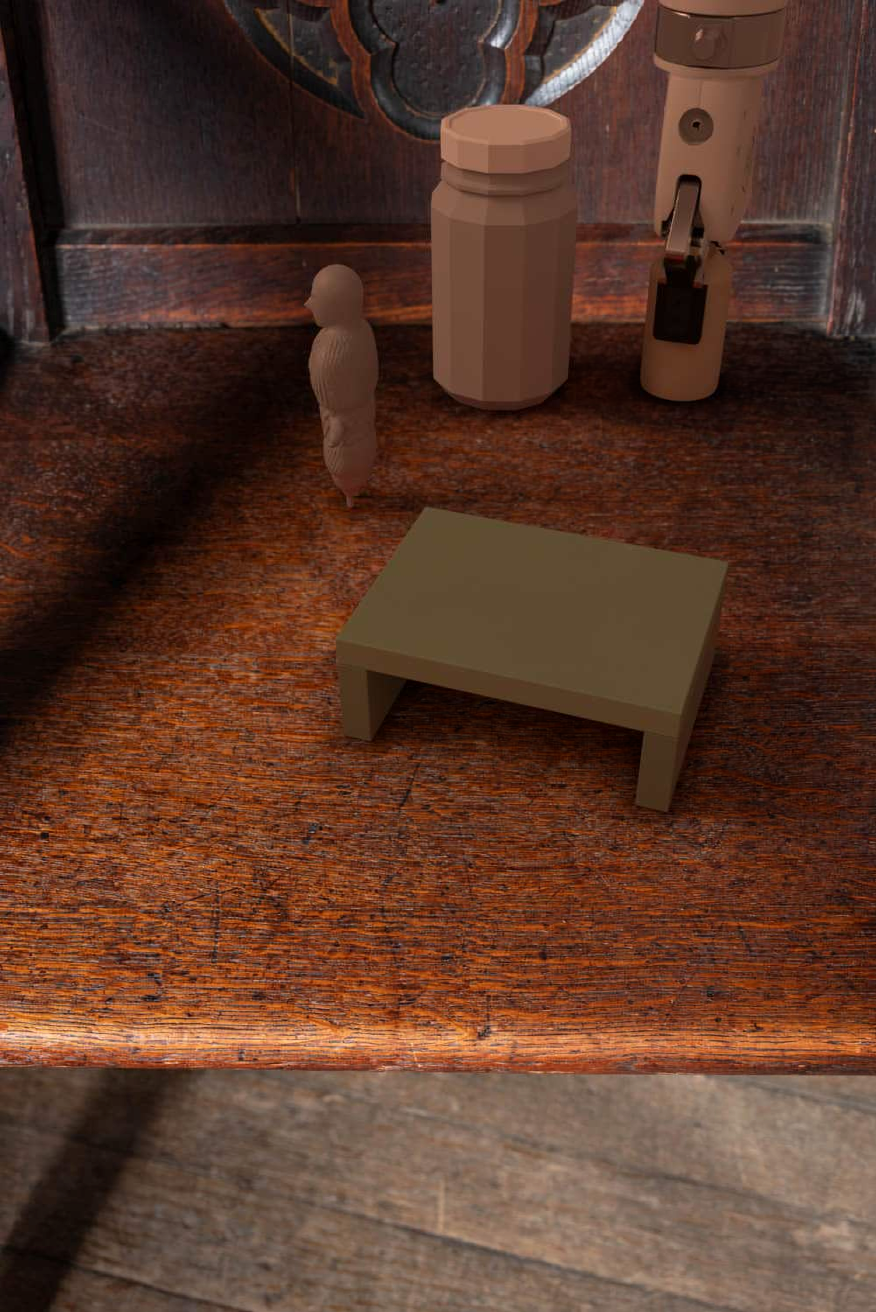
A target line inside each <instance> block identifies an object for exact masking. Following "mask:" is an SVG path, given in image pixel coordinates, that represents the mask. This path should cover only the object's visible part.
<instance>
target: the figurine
mask: <svg viewBox="0 0 876 1312" xmlns="http://www.w3.org/2000/svg"><path fill="white" fill-rule="evenodd" d="M310 295H311V296H309V298H308V299H307V300H306V301H305V302H304V304H303V306H304V307H305V308H306V309H307V310H309V312H311V313H312V315H313V318H314V321H315V324H316V326H318V327H319V328H321V329H320V330H319V332H318V333H317V334H316V336H315V338H314V339H313V342H312V345H311V351H310V356H309V359H308V365H307V367H308V369H309V374H310V376H309V378H310V385H311V387H312V390H313V391H314V395H315V397H316V399H317V400H316V401H317V403H318V404H319V407H318V409H319V413H320V420H321V427H322V428H321V429H322V432H323V437H324V438H323V449H322V450H323V451H322V452H323V459H324V462H325V463H324V464H325V466H326V468H327V471H328V472H329V474H330V475H331V478H332V481H333V483H334V485H335V486H336V487H337V488H339V490H340V491H342V493H343V495H345V498H346V507H347V508H349V509H351V508H354V507H355V502H354V497H359V496H360V495H361V494H360V488H362V487H363V486H364V485H365V484H366V483H367V482H368V480H369V478H370V477H371V474H372V470H373V464H374V461H375V459H376V456H377V451H378V448H377V447H378V443H377V442H378V441H377V439H378V438H377V431H376V428H375V425H376V414H377V406H376V400H377V399H376V398H375V390H376V388H377V384H378V381H379V358H378V357H379V356H378V349H377V346H376V338H375V335H374V331H373V328H372V326H371V325H370V323H369V322H368V320H367V319H365V318H363V316H362V315H363V308H364V298H365V292H364V285H363V281H362V279H361V278H360V276H359V275H358V274H357V272H356V271H355V270H353V269H352V268H350V267H349V266H346V265H344V264H340V263H339V264H338V263H336V264H335V263H334V264H329V265H327V266H325V267H323V268H322V269H320V270H319V271H318V272H317V273H316V275H315V276H314V279H313V281H312V285H311V293H310Z"/></svg>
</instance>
